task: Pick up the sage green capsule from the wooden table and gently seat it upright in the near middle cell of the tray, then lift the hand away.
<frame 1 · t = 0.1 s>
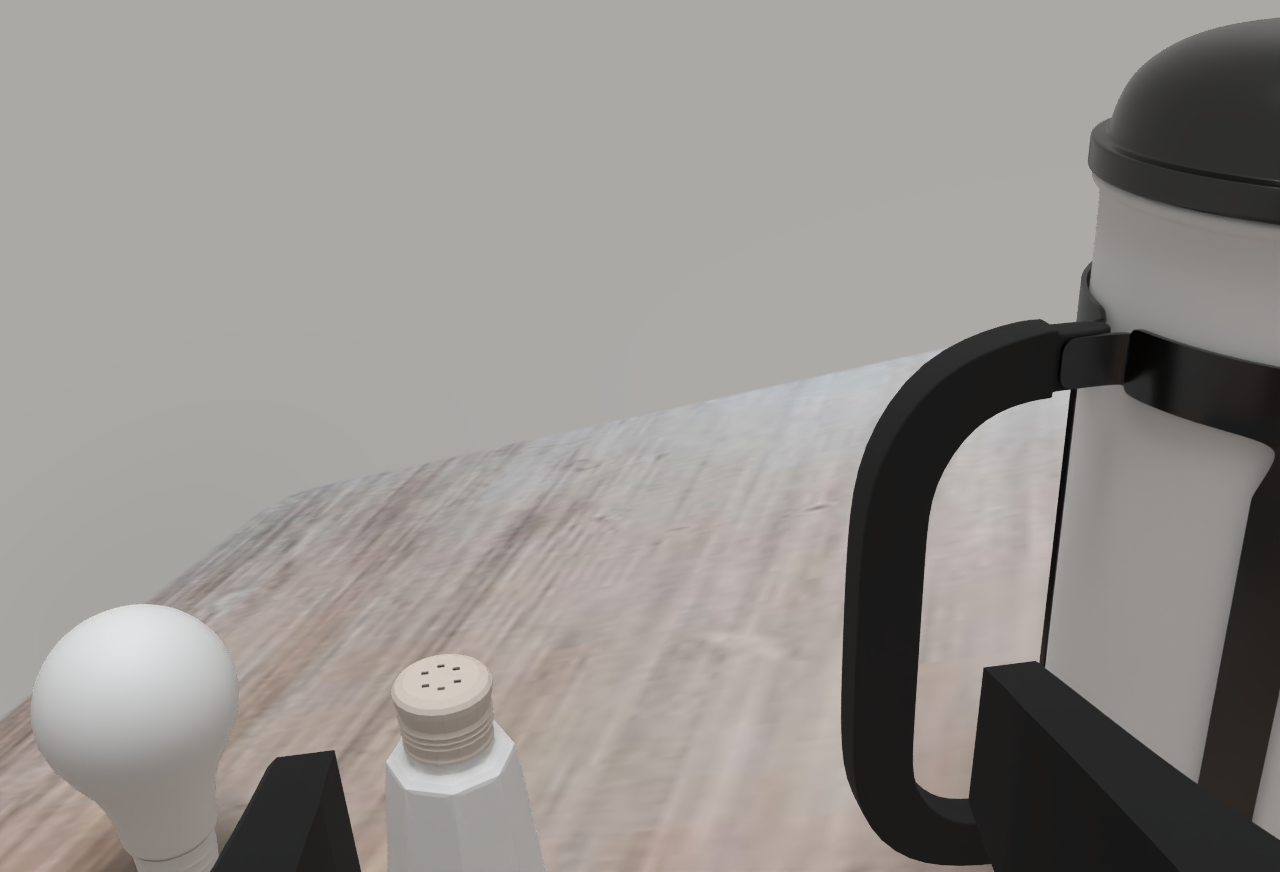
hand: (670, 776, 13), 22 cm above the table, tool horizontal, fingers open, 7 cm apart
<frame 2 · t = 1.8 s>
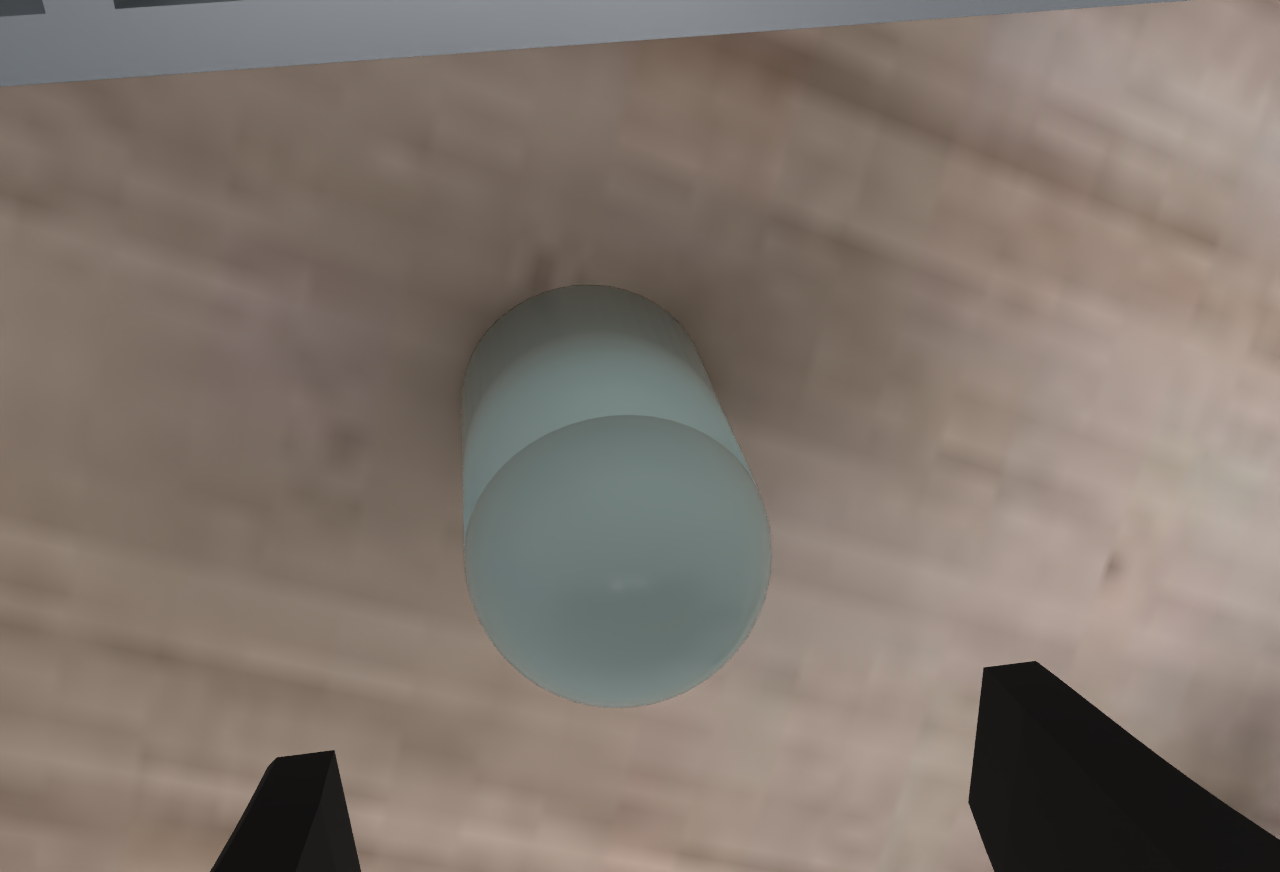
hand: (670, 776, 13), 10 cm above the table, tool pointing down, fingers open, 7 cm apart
sage green capsule: (584, 399, 22), on the table
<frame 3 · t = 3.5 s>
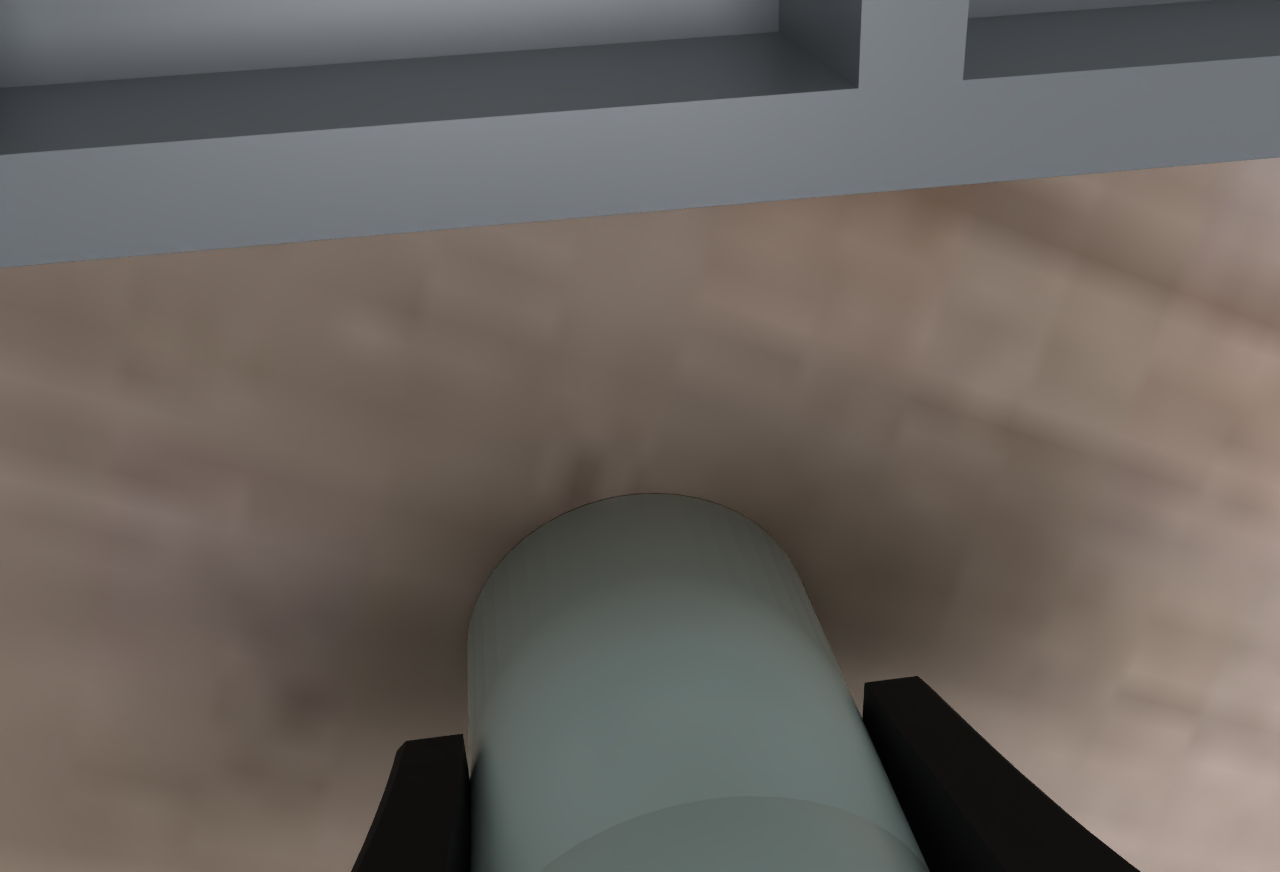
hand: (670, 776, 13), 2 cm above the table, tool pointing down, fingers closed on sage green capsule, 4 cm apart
sage green capsule: (640, 641, 15), on the table, touching gripper
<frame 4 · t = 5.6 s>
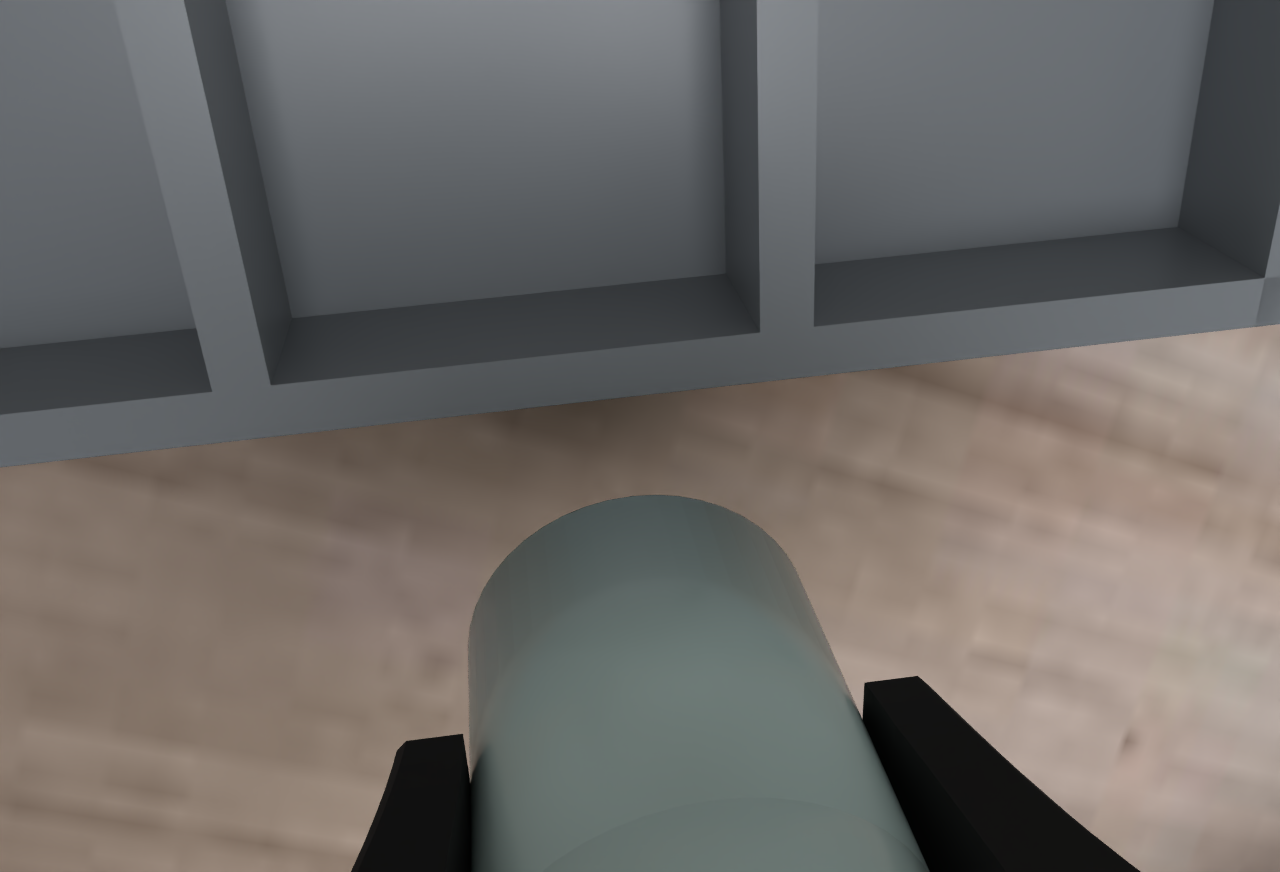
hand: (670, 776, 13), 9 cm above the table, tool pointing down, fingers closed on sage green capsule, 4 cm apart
sage green capsule: (640, 642, 15), point 7 cm above the table, touching gripper
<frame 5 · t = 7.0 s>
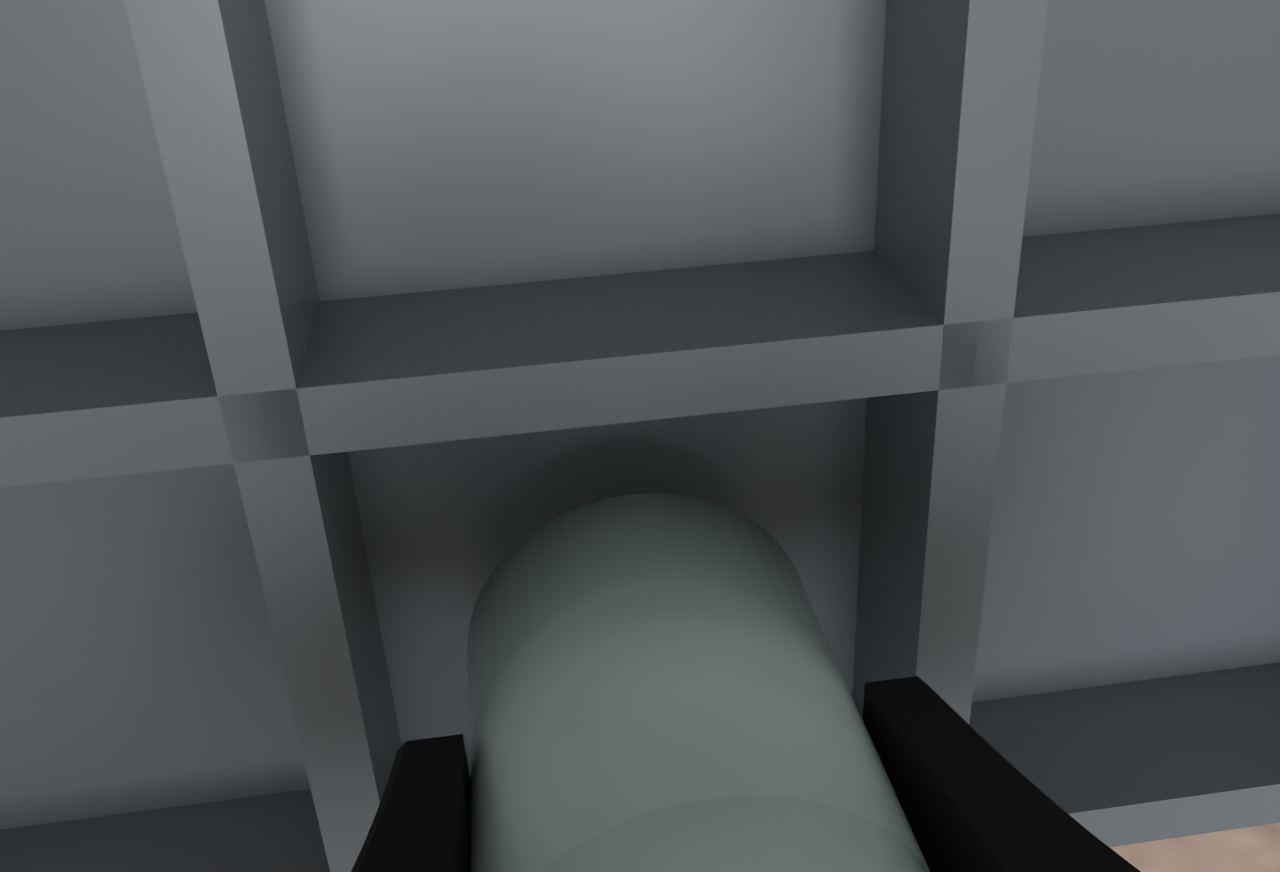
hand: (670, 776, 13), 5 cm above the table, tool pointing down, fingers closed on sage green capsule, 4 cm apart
sage green capsule: (640, 641, 15), point 3 cm above the table, touching gripper
tray: (597, 277, 16), on the table
when the fingers open (5 cm above the table, at t = 8.0 s): sage green capsule drops 1 cm, resting on tray.
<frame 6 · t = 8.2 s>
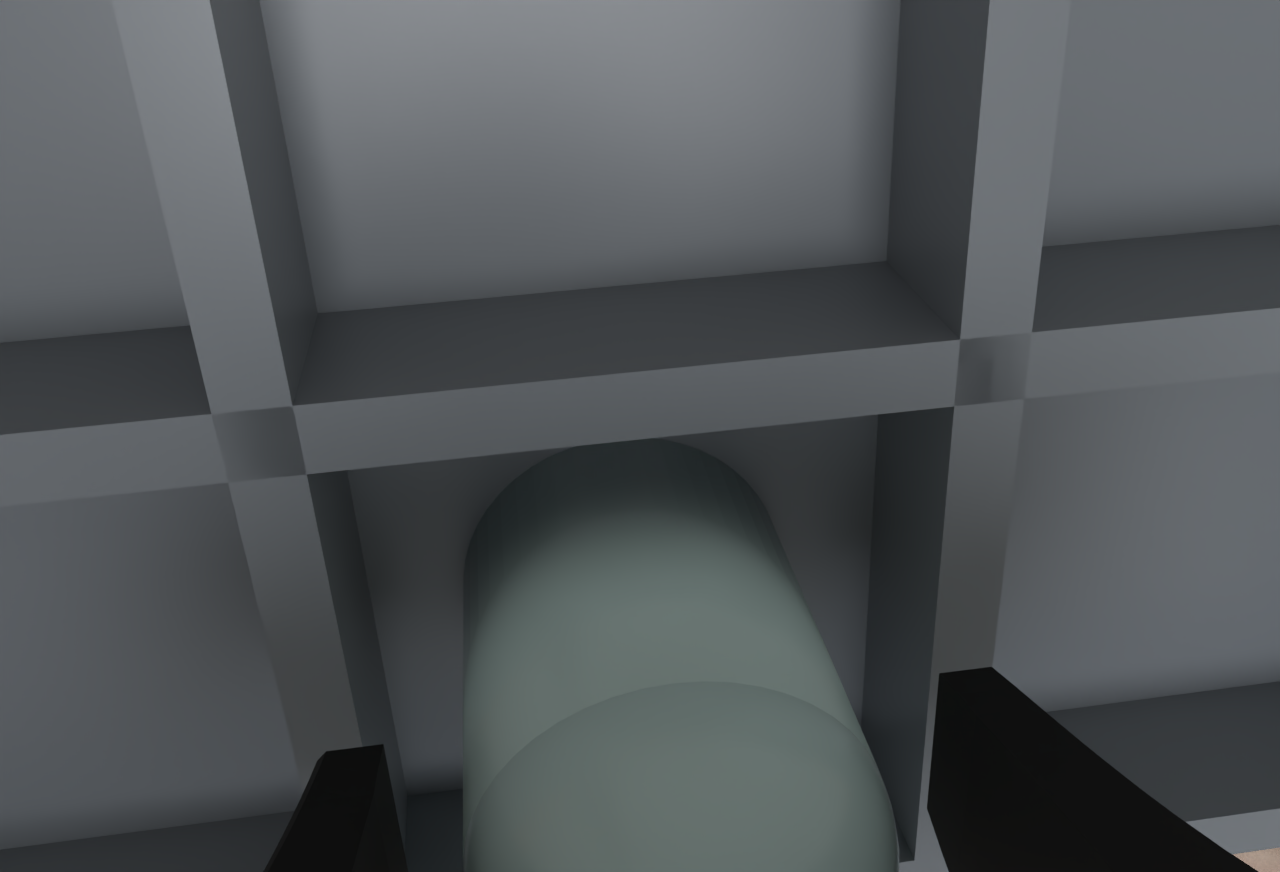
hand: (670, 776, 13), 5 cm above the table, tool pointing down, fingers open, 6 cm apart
sage green capsule: (623, 577, 17), point 1 cm above the table, touching tray
tray: (601, 288, 16), on the table
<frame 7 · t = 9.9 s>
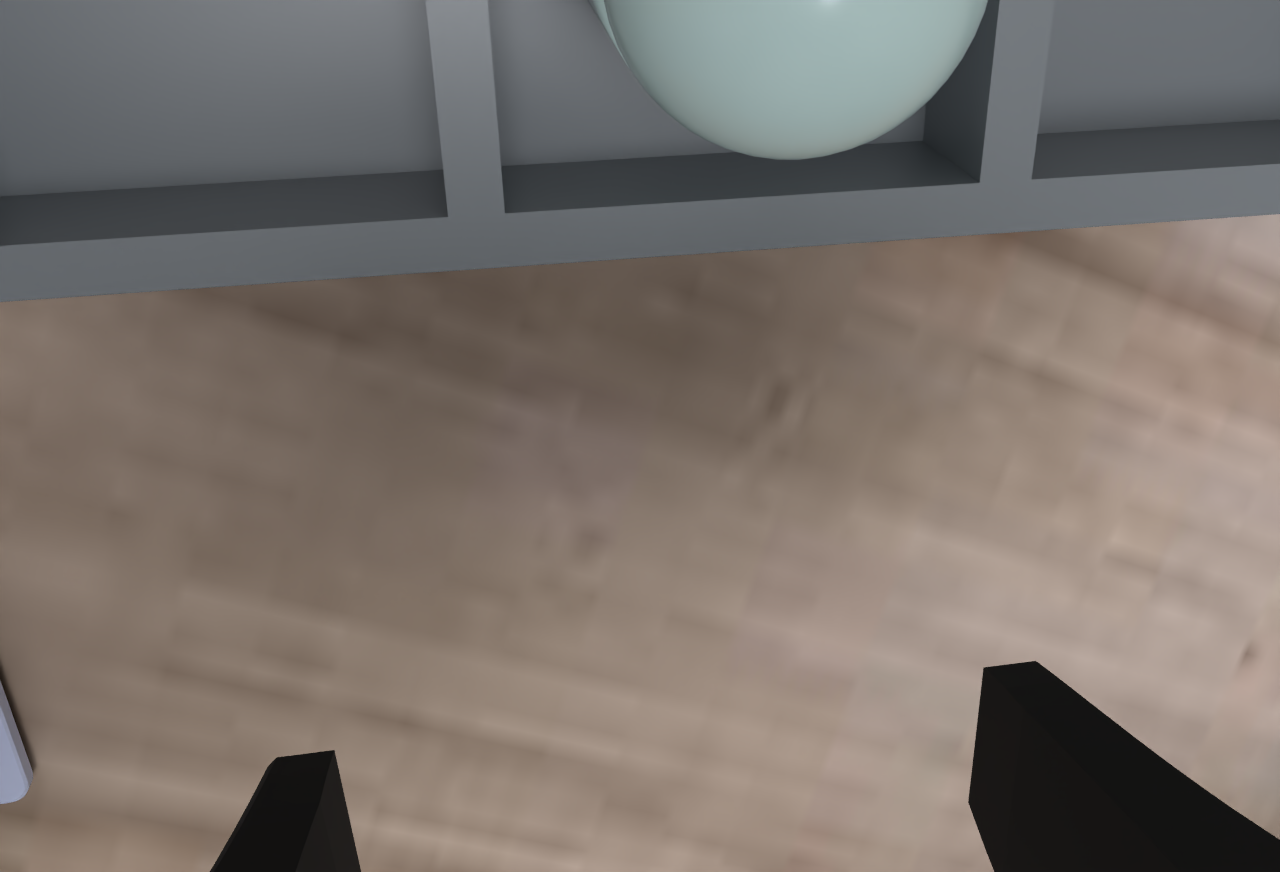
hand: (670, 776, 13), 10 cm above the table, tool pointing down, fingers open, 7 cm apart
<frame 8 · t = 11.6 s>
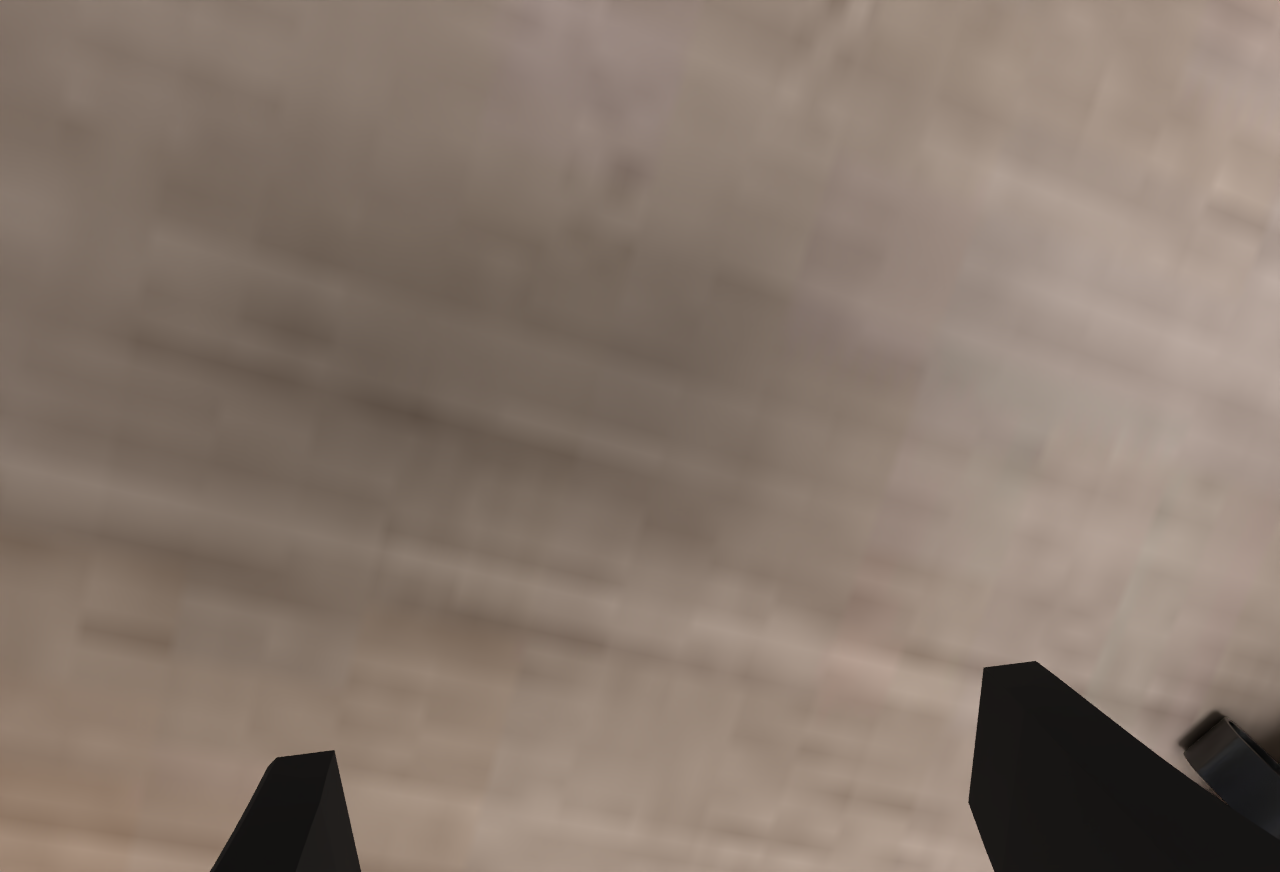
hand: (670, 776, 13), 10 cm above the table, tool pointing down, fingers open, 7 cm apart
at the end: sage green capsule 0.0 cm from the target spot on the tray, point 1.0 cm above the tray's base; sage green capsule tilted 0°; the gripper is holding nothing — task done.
